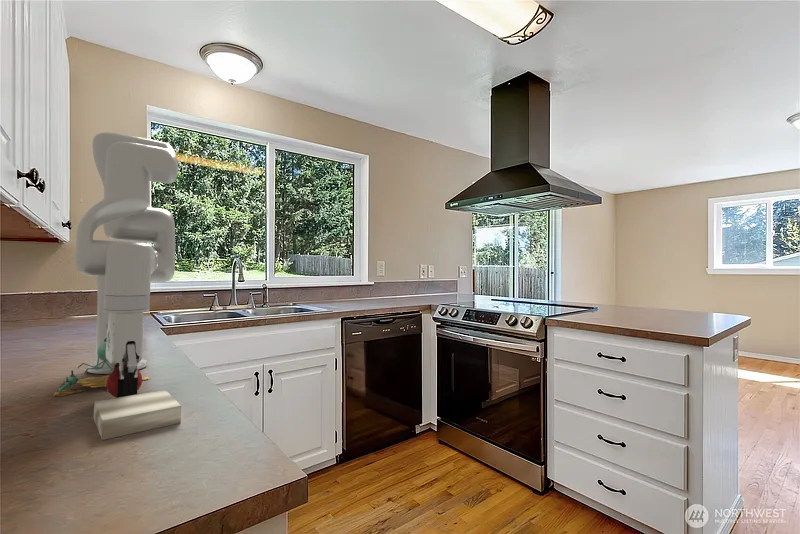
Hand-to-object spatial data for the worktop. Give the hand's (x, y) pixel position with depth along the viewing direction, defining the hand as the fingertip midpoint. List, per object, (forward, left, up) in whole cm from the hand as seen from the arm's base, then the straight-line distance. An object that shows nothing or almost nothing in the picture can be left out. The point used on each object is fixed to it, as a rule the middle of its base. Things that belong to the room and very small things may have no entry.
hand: (124, 393), depth 79 cm
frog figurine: (-14, -2, -2) cm, 14 cm away
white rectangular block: (+13, 0, -1) cm, 13 cm away
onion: (0, 0, -2) cm, 2 cm away
